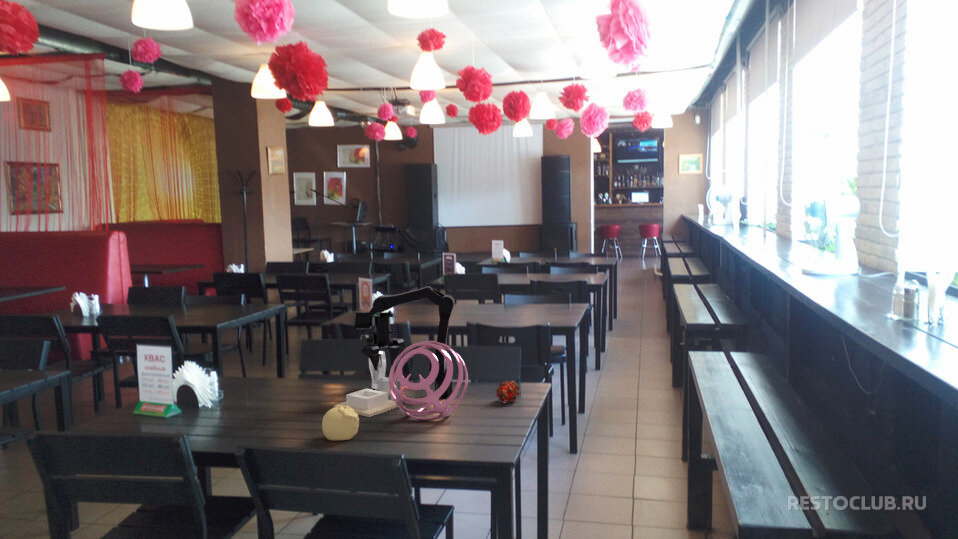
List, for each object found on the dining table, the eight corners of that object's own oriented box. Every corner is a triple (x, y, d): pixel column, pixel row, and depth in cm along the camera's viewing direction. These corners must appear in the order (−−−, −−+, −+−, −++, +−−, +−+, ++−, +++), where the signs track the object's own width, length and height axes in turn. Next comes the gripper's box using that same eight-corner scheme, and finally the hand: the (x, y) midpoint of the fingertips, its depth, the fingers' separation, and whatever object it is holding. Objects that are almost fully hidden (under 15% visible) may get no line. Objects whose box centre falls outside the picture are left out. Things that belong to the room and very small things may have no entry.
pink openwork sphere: (424, 348, 268) (399, 319, 245) (488, 370, 257) (468, 342, 234) (392, 415, 258) (363, 391, 235) (458, 441, 247) (433, 419, 224)
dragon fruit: (517, 401, 266) (505, 414, 256) (499, 387, 268) (486, 400, 257) (527, 385, 262) (515, 398, 252) (509, 371, 264) (497, 384, 254)
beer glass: (385, 389, 284) (383, 353, 283) (368, 390, 284) (366, 354, 283) (388, 385, 291) (386, 350, 290) (371, 386, 291) (369, 350, 290)
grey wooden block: (401, 398, 271) (400, 379, 270) (393, 401, 268) (392, 382, 267) (385, 395, 276) (384, 376, 276) (378, 397, 273) (376, 378, 273)
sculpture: (363, 440, 224) (361, 408, 223) (325, 446, 220) (323, 413, 219) (357, 430, 235) (355, 399, 234) (320, 435, 231) (318, 403, 230)
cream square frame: (401, 405, 261) (401, 392, 260) (369, 417, 248) (368, 402, 248) (366, 398, 273) (365, 385, 273) (333, 408, 261) (332, 394, 261)
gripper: (384, 323, 282) (385, 361, 283) (350, 330, 266) (352, 370, 268) (404, 325, 275) (406, 363, 277) (371, 333, 260) (373, 374, 261)
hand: (384, 368), depth 271 cm, fingers open, 9 cm apart
